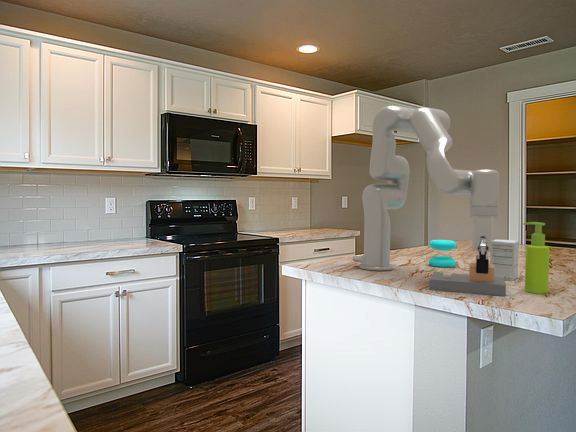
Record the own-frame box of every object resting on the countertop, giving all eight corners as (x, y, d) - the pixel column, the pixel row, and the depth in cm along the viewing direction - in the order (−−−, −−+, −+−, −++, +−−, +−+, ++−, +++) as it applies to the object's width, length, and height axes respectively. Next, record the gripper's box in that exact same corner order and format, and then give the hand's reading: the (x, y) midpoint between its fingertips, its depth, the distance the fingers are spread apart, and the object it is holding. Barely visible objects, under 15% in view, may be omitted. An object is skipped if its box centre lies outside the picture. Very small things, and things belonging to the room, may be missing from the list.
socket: (429, 289, 129) (429, 276, 129) (433, 281, 142) (434, 269, 142) (505, 296, 121) (506, 282, 121) (503, 286, 134) (503, 274, 134)
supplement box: (495, 275, 154) (496, 239, 154) (518, 277, 150) (519, 240, 149) (488, 278, 149) (490, 240, 148) (513, 280, 144) (514, 242, 143)
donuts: (424, 240, 174) (436, 238, 181) (424, 265, 174) (435, 263, 181) (449, 242, 166) (460, 240, 174) (448, 268, 167) (460, 266, 174)
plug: (468, 289, 128) (469, 266, 128) (469, 285, 134) (470, 263, 134) (494, 291, 126) (494, 268, 125) (493, 287, 132) (494, 264, 131)
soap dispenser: (524, 288, 133) (527, 221, 132) (550, 291, 128) (553, 222, 127) (517, 290, 128) (520, 222, 128) (544, 294, 124) (547, 223, 123)
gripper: (470, 211, 138) (468, 265, 139) (469, 212, 122) (467, 274, 123) (496, 211, 135) (495, 267, 136) (499, 213, 120) (497, 276, 120)
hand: (481, 270), depth 130 cm, fingers open, 9 cm apart
